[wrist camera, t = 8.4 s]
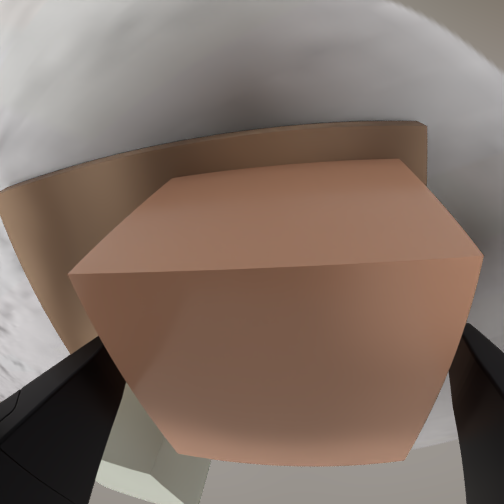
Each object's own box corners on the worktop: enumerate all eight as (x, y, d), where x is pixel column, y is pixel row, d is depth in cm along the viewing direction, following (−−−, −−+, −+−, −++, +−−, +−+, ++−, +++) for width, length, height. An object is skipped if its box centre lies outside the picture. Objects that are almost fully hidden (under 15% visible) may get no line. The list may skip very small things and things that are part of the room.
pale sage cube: (184, 383, 16) (150, 474, 11) (216, 443, 19) (196, 513, 14) (84, 368, 17) (44, 436, 13) (129, 427, 21) (103, 486, 16)
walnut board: (416, 121, 9) (427, 126, 8) (374, 433, 18) (375, 446, 17) (6, 187, 13) (-7, 195, 12) (128, 416, 22) (123, 426, 21)
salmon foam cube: (399, 158, 9) (483, 256, 4) (386, 335, 12) (404, 460, 7) (172, 177, 10) (67, 273, 5) (217, 339, 13) (177, 453, 9)
